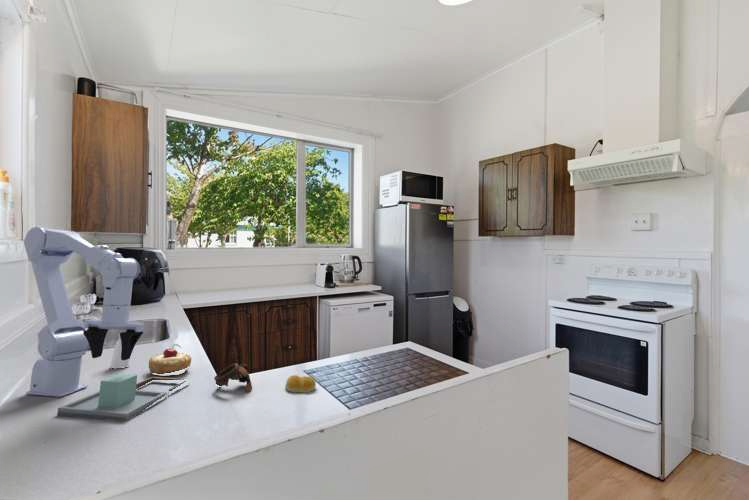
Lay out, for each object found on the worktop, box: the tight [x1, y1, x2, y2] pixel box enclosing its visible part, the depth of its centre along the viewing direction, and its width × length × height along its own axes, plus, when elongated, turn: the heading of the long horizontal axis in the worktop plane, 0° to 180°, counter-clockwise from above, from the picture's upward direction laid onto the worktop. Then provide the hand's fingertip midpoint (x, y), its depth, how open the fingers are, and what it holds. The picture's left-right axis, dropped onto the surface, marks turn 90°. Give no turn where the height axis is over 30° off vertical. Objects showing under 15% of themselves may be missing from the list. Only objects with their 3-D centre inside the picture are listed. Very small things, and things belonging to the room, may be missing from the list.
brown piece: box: [213, 363, 253, 393], centre depth 103 cm, size 12×10×8 cm
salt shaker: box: [109, 332, 131, 370], centre depth 115 cm, size 5×5×11 cm
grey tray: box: [57, 389, 168, 422], centre depth 85 cm, size 16×14×2 cm
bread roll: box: [285, 374, 317, 394], centre depth 106 cm, size 8×9×4 cm
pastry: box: [148, 343, 192, 374], centre depth 113 cm, size 12×12×9 cm
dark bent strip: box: [136, 376, 186, 392], centre depth 99 cm, size 11×9×2 cm
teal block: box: [98, 373, 138, 408], centre depth 85 cm, size 4×6×6 cm
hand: (111, 358), depth 89 cm, fingers open, 7 cm apart
